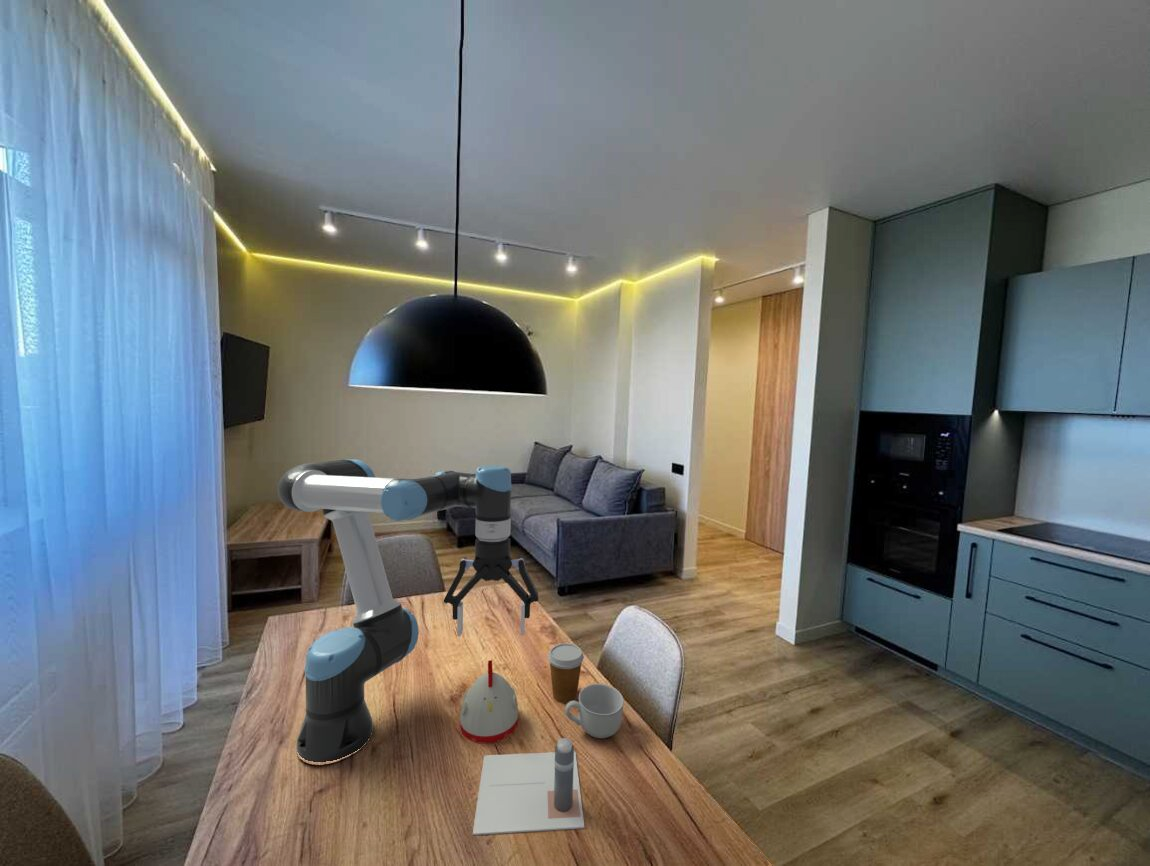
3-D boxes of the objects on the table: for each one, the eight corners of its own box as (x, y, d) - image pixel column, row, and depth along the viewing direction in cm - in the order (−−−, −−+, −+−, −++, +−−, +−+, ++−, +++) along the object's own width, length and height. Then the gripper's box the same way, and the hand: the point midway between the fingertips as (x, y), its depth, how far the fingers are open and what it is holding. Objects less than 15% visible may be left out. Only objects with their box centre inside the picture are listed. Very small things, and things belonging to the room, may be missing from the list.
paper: (472, 835, 79) (472, 833, 79) (484, 756, 97) (484, 755, 97) (584, 828, 81) (584, 826, 81) (575, 752, 99) (575, 751, 99)
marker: (553, 812, 83) (555, 751, 83) (553, 795, 87) (554, 736, 87) (573, 811, 84) (575, 750, 83) (572, 794, 87) (573, 735, 87)
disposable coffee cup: (579, 709, 113) (580, 664, 112) (542, 704, 115) (543, 659, 114) (585, 687, 122) (586, 644, 122) (552, 682, 124) (552, 640, 124)
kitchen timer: (458, 747, 100) (459, 682, 99) (461, 707, 113) (461, 649, 112) (520, 738, 103) (521, 675, 102) (515, 700, 116) (516, 644, 115)
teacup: (619, 714, 112) (620, 683, 111) (625, 746, 101) (626, 712, 101) (564, 714, 111) (564, 683, 111) (564, 746, 100) (565, 712, 100)
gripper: (430, 542, 92) (429, 642, 93) (550, 542, 94) (548, 639, 95) (438, 532, 99) (437, 625, 100) (549, 532, 102) (547, 623, 103)
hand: (491, 632), depth 98 cm, fingers open, 13 cm apart
